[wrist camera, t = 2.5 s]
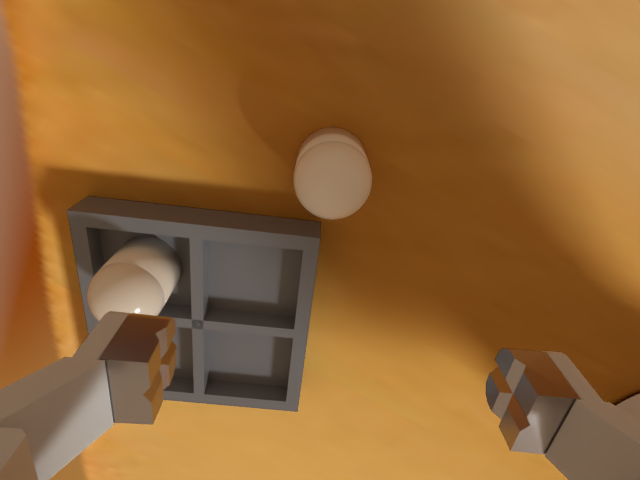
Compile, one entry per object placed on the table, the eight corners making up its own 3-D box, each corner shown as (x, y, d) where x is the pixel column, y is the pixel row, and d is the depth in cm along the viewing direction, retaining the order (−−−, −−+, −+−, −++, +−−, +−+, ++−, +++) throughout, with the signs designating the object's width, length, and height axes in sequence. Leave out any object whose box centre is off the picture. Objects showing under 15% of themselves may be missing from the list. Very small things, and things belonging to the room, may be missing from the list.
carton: (320, 221, 28) (320, 238, 26) (299, 387, 35) (297, 411, 33) (88, 196, 27) (66, 210, 25) (113, 370, 34) (98, 393, 32)
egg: (371, 131, 25) (383, 157, 20) (360, 198, 27) (368, 237, 22) (300, 123, 25) (294, 146, 20) (294, 190, 27) (287, 228, 22)
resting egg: (181, 239, 28) (148, 287, 22) (183, 293, 30) (153, 349, 24) (115, 232, 27) (66, 279, 22) (121, 287, 29) (78, 342, 24)
